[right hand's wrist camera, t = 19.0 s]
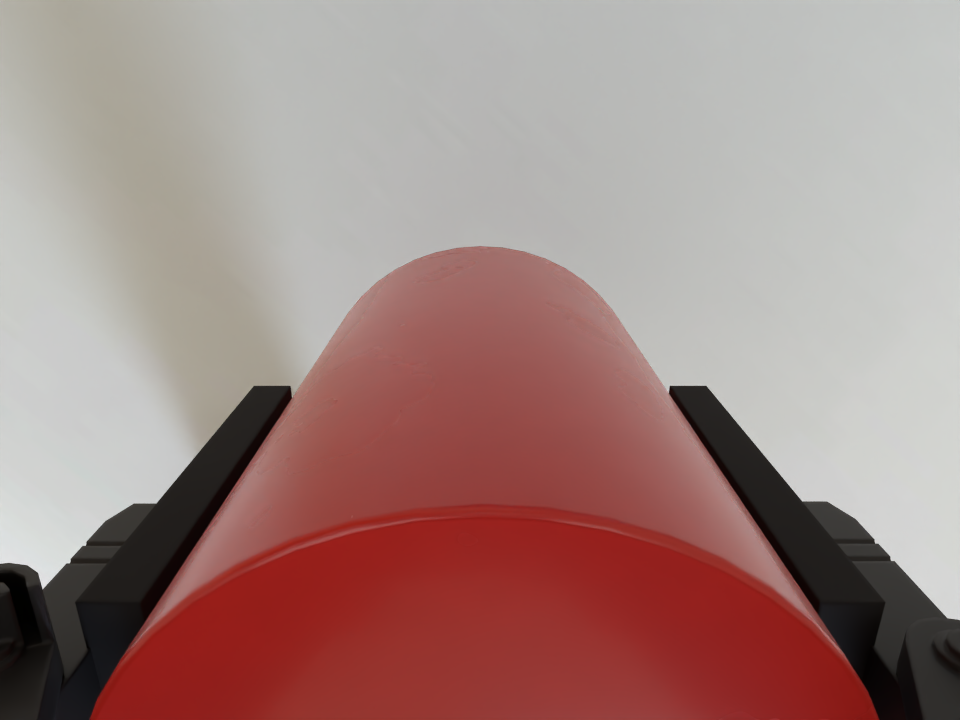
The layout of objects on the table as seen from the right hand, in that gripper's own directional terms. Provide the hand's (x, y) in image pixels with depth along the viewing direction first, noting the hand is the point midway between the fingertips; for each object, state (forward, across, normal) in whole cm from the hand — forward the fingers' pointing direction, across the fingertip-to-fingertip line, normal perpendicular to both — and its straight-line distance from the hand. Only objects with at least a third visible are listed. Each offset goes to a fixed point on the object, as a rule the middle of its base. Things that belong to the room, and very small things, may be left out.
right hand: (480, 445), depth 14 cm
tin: (+3, 0, 0) cm, 3 cm away
